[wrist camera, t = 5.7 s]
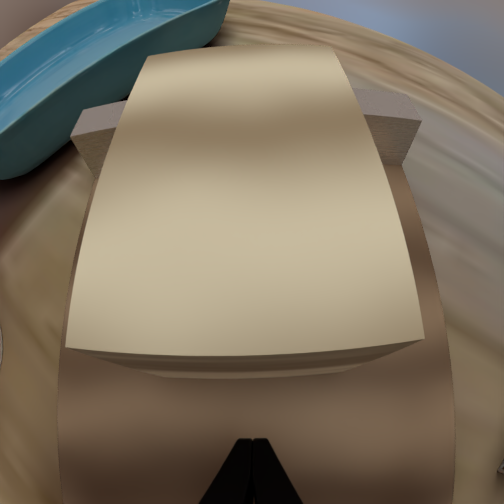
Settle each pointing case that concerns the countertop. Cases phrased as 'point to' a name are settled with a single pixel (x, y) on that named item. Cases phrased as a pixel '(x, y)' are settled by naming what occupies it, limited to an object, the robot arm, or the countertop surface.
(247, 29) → the countertop surface
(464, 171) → the countertop surface
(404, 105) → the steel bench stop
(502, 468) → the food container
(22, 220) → the countertop surface
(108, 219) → the maple block
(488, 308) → the countertop surface
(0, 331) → the cylindrical container
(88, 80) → the casserole dish
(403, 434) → the walnut board
